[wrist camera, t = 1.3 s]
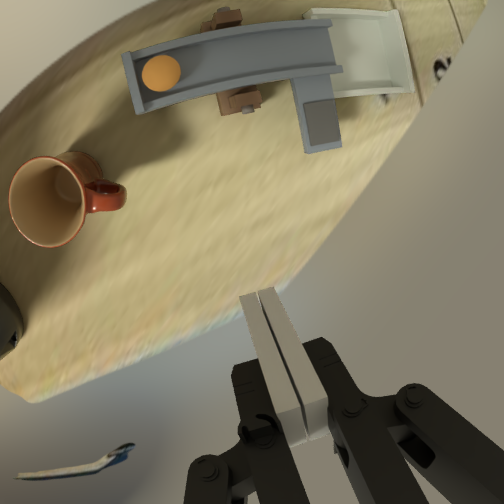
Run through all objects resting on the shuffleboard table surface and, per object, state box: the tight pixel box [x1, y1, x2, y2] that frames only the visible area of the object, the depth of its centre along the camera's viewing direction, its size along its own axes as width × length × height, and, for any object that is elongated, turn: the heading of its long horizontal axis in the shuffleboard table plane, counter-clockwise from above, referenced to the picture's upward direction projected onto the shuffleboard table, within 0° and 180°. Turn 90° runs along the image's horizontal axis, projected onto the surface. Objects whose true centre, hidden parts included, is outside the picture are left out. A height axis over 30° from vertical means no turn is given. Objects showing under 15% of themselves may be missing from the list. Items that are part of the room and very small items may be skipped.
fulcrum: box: [200, 7, 262, 116], centre depth 26 cm, size 12×11×8 cm
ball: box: [142, 55, 181, 92], centre depth 22 cm, size 3×3×3 cm
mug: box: [8, 151, 127, 248], centre depth 28 cm, size 12×9×10 cm
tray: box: [303, 8, 415, 98], centre depth 29 cm, size 12×12×4 cm
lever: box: [121, 19, 343, 154], centre depth 26 cm, size 20×14×3 cm
